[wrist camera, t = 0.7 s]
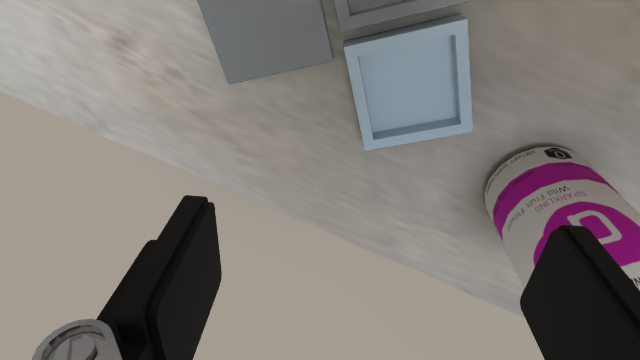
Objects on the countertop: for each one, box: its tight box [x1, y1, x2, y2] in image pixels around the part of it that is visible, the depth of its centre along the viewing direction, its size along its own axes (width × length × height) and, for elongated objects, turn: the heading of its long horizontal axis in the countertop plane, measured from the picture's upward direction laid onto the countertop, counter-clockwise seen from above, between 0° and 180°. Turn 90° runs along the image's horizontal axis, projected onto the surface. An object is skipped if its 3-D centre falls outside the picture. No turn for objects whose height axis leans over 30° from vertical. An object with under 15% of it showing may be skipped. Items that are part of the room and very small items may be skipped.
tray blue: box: [344, 14, 473, 151], centre depth 28 cm, size 8×8×2 cm
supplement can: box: [484, 147, 640, 290], centre depth 27 cm, size 8×8×15 cm
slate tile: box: [198, 0, 333, 84], centre depth 27 cm, size 8×8×1 cm
